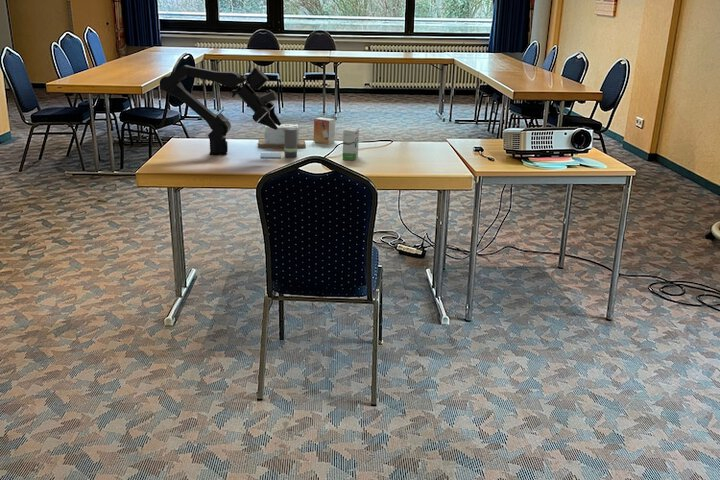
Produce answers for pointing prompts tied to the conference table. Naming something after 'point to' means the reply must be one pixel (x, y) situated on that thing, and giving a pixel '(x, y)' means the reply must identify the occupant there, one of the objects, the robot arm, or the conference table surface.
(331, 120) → the small box
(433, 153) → the conference table surface
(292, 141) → the cartridge
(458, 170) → the conference table surface
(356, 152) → the ink box
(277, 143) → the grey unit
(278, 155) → the slate mat
